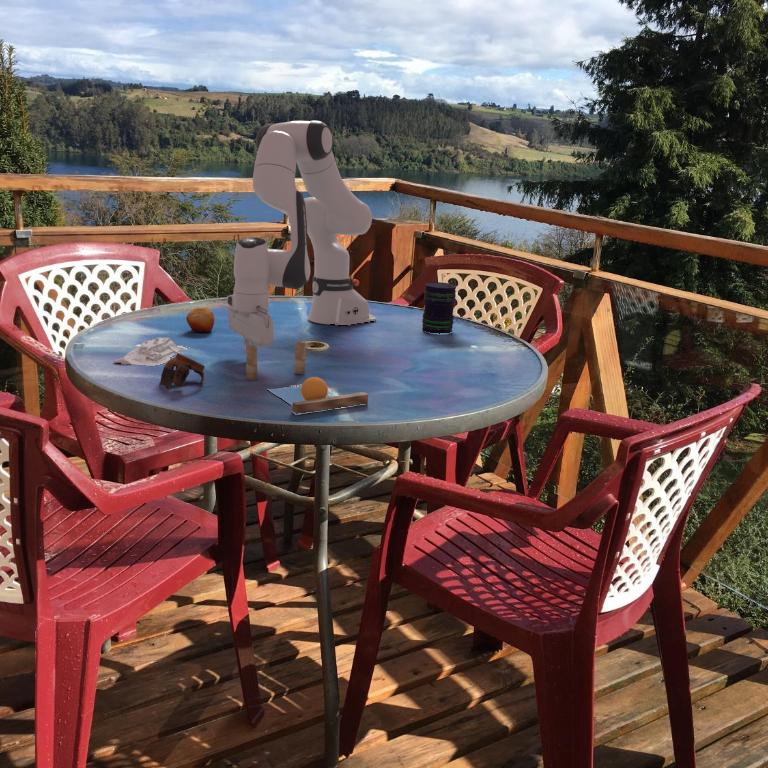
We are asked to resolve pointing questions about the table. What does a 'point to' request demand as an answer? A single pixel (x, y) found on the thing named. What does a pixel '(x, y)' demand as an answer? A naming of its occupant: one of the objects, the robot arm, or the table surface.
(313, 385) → the ball
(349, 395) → the stopper wall
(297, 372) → the post
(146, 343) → the terrain model
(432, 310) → the storage jar
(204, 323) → the fruit
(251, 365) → the post
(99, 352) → the table surface
